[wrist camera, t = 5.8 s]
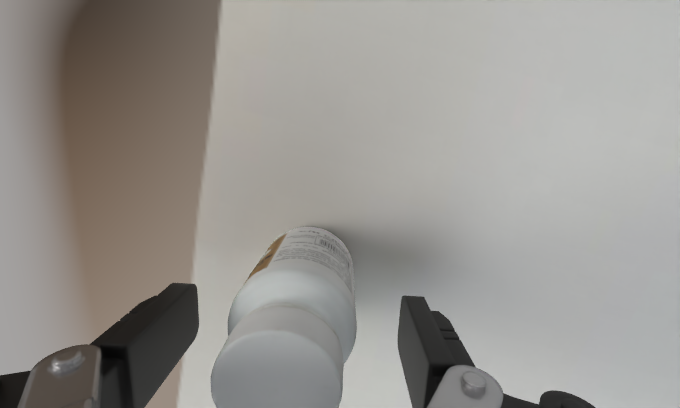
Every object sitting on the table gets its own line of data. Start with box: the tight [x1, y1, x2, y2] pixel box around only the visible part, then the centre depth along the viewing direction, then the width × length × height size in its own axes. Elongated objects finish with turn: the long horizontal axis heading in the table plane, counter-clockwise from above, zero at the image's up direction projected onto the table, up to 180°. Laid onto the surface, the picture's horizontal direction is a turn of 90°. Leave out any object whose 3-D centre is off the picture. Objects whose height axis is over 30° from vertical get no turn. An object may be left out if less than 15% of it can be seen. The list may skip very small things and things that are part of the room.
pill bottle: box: [211, 227, 356, 408], centre depth 12 cm, size 4×4×8 cm
